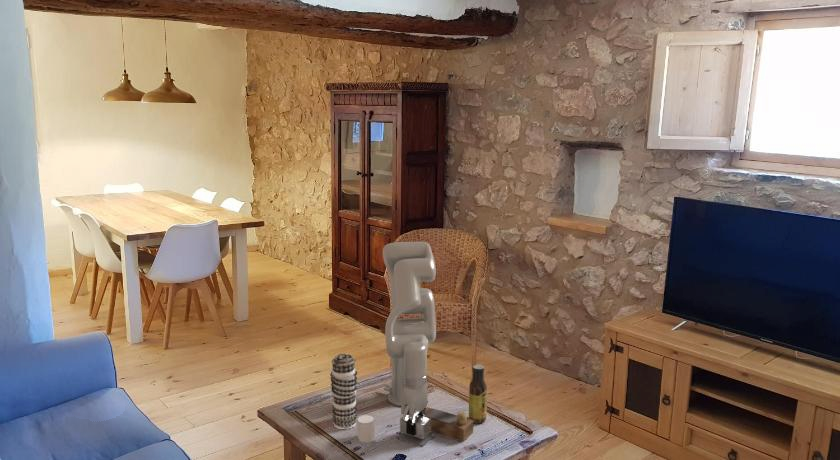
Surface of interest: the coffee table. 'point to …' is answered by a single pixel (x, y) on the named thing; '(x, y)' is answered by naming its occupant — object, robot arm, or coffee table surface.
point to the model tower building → (344, 391)
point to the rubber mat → (415, 439)
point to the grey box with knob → (418, 426)
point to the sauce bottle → (478, 396)
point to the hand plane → (450, 424)
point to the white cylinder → (366, 427)
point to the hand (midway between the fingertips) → (415, 429)
